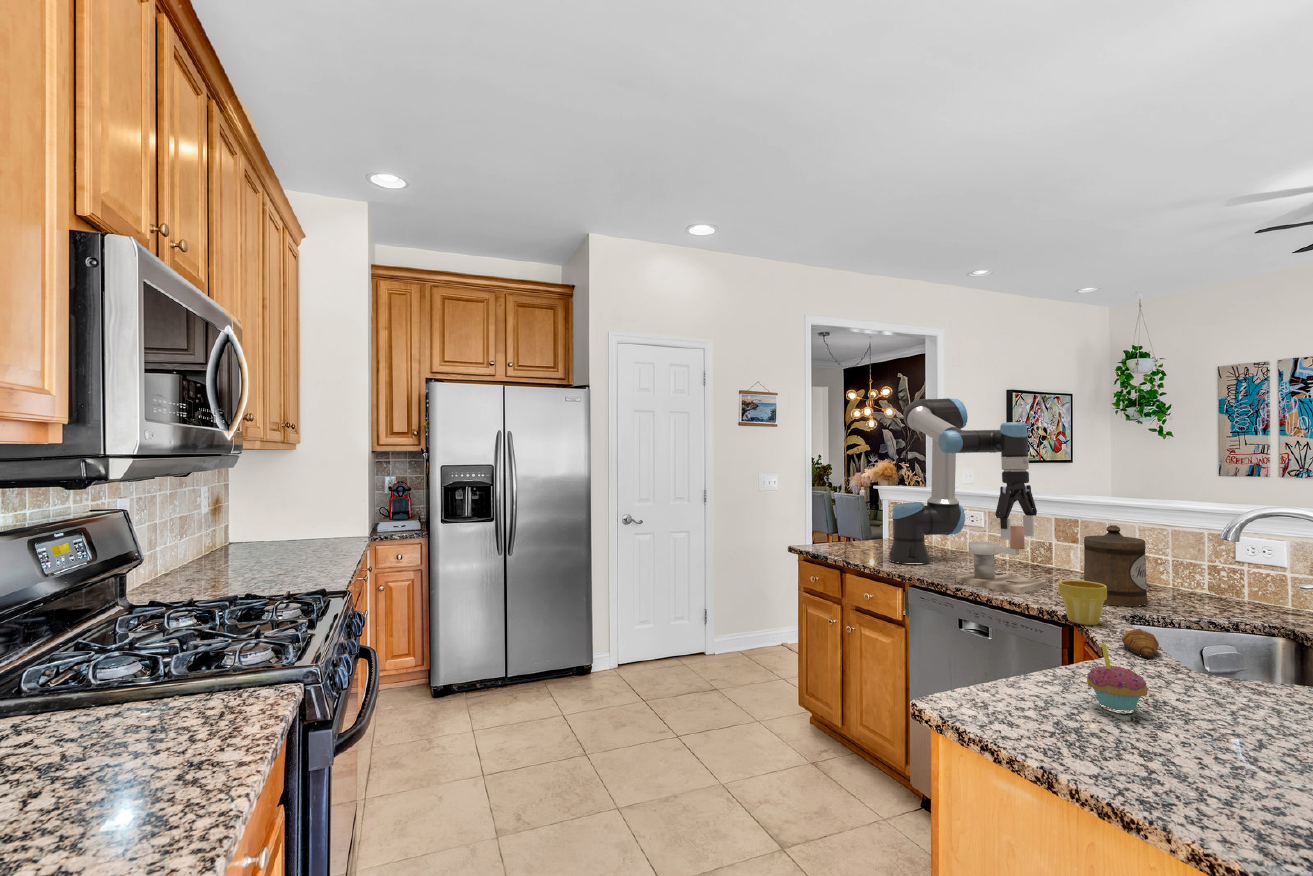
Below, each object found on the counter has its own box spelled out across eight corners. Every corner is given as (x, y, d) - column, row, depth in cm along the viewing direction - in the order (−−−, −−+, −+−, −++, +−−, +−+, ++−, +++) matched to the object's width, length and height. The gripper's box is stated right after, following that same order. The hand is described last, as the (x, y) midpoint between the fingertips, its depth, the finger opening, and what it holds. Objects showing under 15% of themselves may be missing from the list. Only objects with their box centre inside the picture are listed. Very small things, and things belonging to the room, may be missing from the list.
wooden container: (1153, 609, 175) (1150, 529, 176) (1088, 604, 182) (1086, 527, 182) (1141, 597, 188) (1138, 523, 189) (1081, 593, 195) (1079, 521, 196)
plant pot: (1093, 616, 169) (1091, 579, 169) (1117, 627, 158) (1116, 588, 159) (1051, 616, 170) (1050, 579, 170) (1073, 627, 160) (1072, 587, 160)
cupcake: (1103, 718, 106) (1101, 646, 107) (1077, 698, 115) (1075, 631, 115) (1160, 720, 105) (1157, 647, 105) (1129, 700, 114) (1127, 632, 114)
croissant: (1169, 662, 133) (1168, 638, 133) (1130, 659, 136) (1129, 635, 136) (1149, 644, 146) (1148, 622, 146) (1113, 641, 148) (1113, 619, 148)
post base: (956, 582, 213) (955, 552, 213) (983, 576, 222) (982, 548, 222) (1020, 594, 196) (1019, 561, 196) (1047, 587, 204) (1046, 556, 204)
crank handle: (963, 552, 212) (962, 523, 213) (978, 549, 217) (977, 521, 217) (1016, 559, 198) (1015, 528, 198) (1031, 556, 202) (1030, 525, 203)
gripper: (1005, 471, 192) (1008, 542, 192) (1047, 469, 206) (1049, 535, 205) (981, 471, 199) (983, 539, 198) (1023, 469, 212) (1026, 533, 212)
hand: (1017, 537), depth 202 cm, fingers open, 13 cm apart
